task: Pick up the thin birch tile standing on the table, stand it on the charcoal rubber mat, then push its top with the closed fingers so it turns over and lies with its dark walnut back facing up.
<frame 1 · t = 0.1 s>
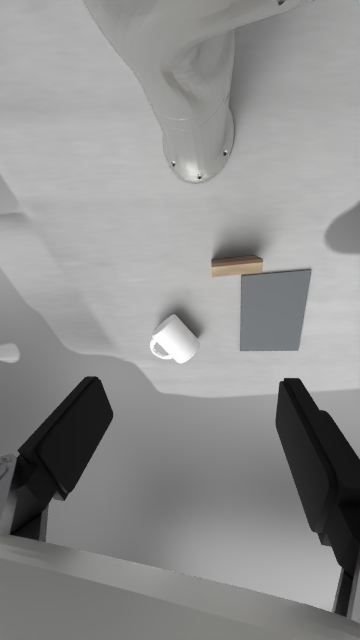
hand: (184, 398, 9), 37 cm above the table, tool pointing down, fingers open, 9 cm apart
mat: (270, 314, 44), on the table
tile: (232, 262, 41), on the table
mug: (173, 334, 51), on the table
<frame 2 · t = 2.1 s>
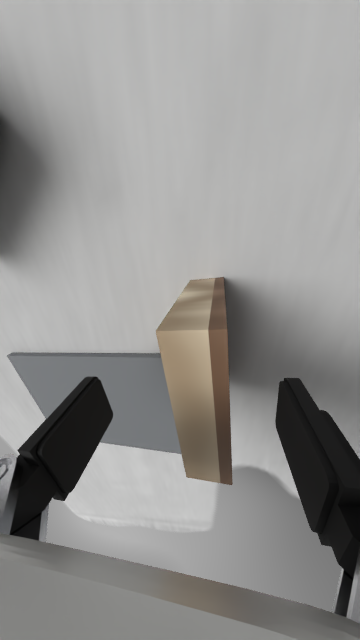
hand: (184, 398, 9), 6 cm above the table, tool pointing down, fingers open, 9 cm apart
mat: (105, 402, 21), on the table
tile: (210, 333, 15), on the table
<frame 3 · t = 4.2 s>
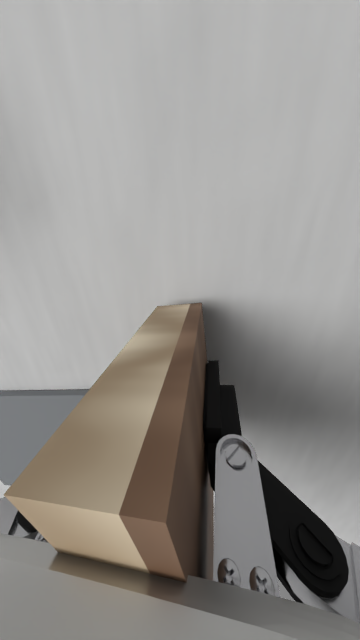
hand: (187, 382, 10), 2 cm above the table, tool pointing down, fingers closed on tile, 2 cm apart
mat: (58, 444, 18), on the table
tile: (188, 372, 11), point 1 cm above the table, touching gripper
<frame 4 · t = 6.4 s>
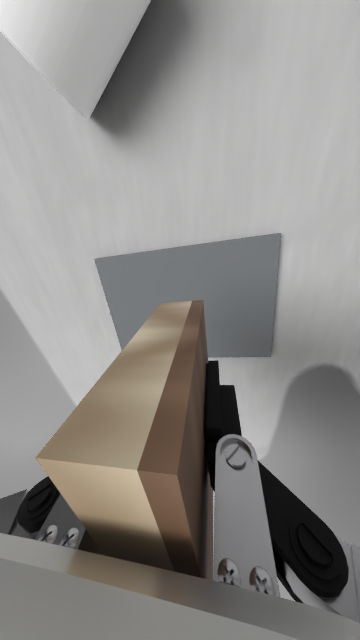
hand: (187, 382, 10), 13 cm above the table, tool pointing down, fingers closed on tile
mat: (186, 307, 22), on the table
tile: (189, 367, 12), point 11 cm above the table, touching gripper
mug: (84, 6, 14), on the table
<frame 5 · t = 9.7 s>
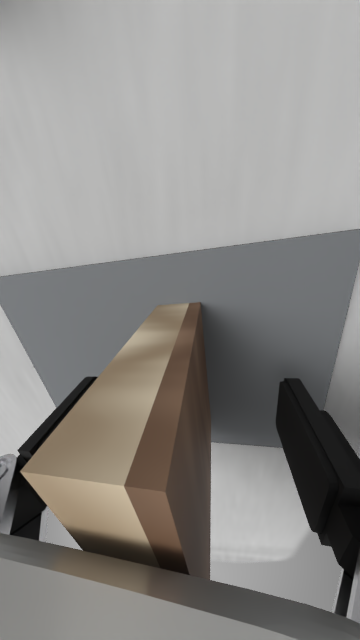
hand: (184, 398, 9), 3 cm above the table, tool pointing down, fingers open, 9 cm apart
mat: (161, 363, 12), on the table
tile: (187, 370, 12), point 1 cm above the table, touching mat
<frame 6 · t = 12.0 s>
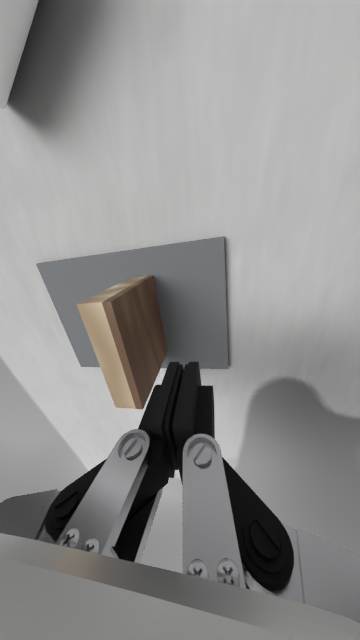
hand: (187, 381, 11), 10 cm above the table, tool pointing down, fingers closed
mat: (137, 315, 21), on the table
tile: (150, 317, 20), point 1 cm above the table, touching mat
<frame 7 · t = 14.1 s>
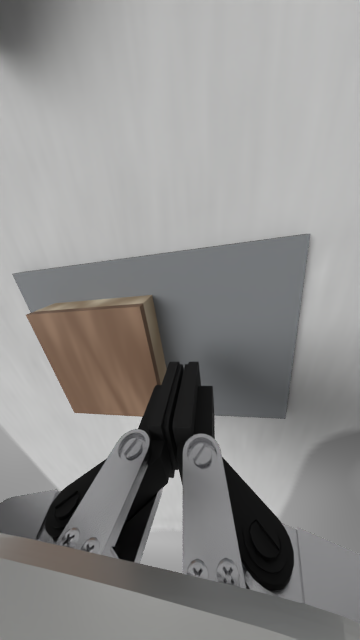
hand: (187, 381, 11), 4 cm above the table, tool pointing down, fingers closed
mat: (157, 345, 15), on the table
tile: (158, 359, 13), point 2 cm above the table, tilted 90°, touching mat
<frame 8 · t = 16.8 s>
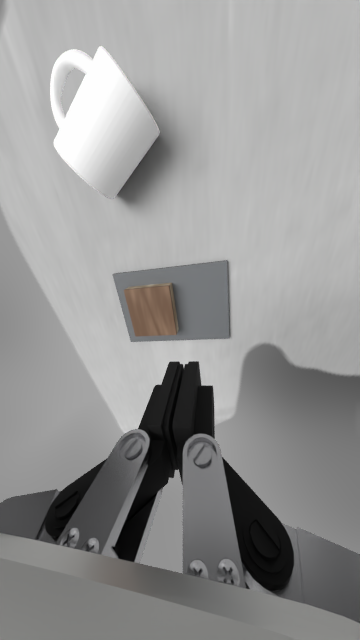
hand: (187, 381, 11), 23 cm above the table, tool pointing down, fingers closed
mat: (172, 305, 34), on the table
tile: (174, 309, 32), point 2 cm above the table, tilted 90°, touching mat
mug: (113, 139, 25), on the table
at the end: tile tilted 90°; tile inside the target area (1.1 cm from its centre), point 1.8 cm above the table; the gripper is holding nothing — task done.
